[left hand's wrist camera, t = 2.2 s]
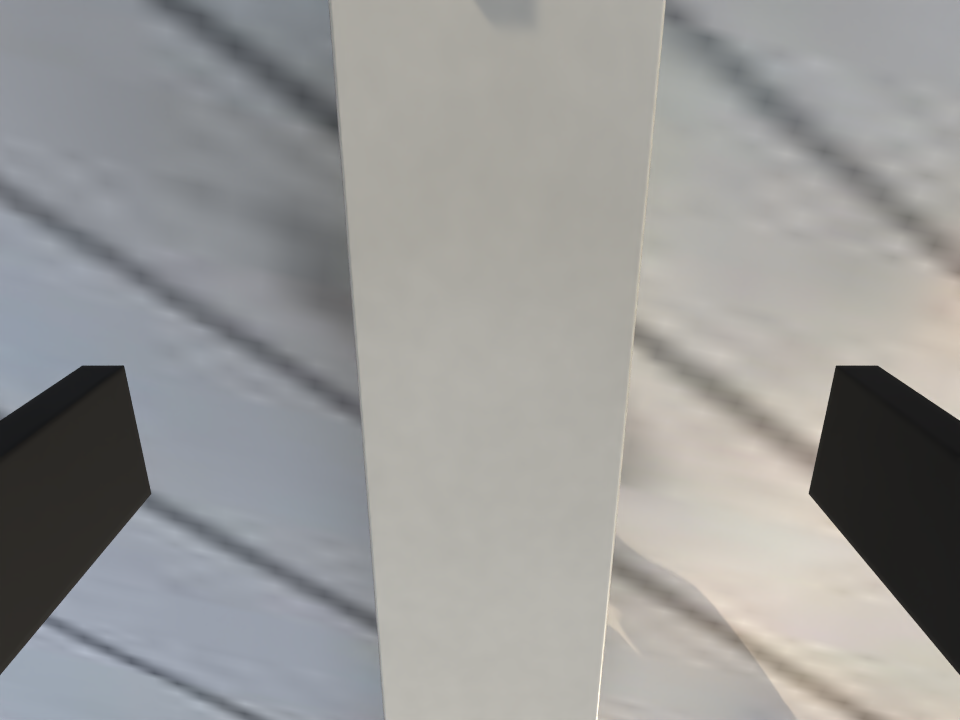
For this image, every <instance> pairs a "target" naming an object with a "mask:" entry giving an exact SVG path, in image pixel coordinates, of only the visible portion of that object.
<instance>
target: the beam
mask: <svg viewBox="0 0 960 720" xmlns="http://www.w3.org/2000/svg"><path fill="white" fill-rule="evenodd" d="M328 1H329V14H330V27H331V40H332V53H333V66H334V78H335V91H336V104H337V117H338V130H339V143H340V156H341V169H342V182H343V195H344V208H345V220H346V233H347V246H348V259H349V272H350V285H351V298H352V311H353V324H354V337H355V350H356V362H357V375H358V388H359V401H360V414H361V427H362V440H363V453H364V466H365V479H366V492H367V504H368V517H369V530H370V543H371V556H372V569H373V582H374V595H375V608H376V621H377V634H378V646H379V659H380V672H381V685H382V698H383V711H384V720H598V711H599V700H600V690H601V679H602V669H603V658H604V648H605V637H606V626H607V616H608V605H609V595H610V584H611V574H612V563H613V553H614V542H615V531H616V521H617V510H618V500H619V489H620V479H621V468H622V458H623V447H624V436H625V426H626V415H627V405H628V394H629V384H630V373H631V362H632V352H633V341H634V331H635V320H636V310H637V299H638V289H639V278H640V267H641V257H642V246H643V236H644V225H645V215H646V204H647V194H648V183H649V172H650V162H651V151H652V141H653V130H654V120H655V109H656V99H657V88H658V77H659V67H660V56H661V46H662V35H663V25H664V14H665V4H666V0H328Z"/></svg>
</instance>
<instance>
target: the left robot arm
mask: <svg viewBox="0 0 960 720" xmlns="http://www.w3.org/2000/svg"><path fill="white" fill-rule="evenodd" d="M150 495H151V490H150V485H149V481H148V476H147V471H146V467H145V462H144V457H143V453H142V448H141V443H140V439H139V434H138V429H137V425H136V420H135V415H134V410H133V406H132V401H131V396H130V392H129V387H128V382H127V378H126V373H125V368H124V366H81V367H80V368H78V369H77V370H75V371H74V372H72V373H71V374H69V375H68V376H66V377H65V378H63V379H62V380H60V381H59V382H57V383H56V384H54V385H53V386H51V387H50V388H48V389H47V390H45V391H44V392H42V393H41V394H39V395H38V396H36V397H35V398H33V399H32V400H30V401H29V402H27V403H26V404H24V405H23V406H21V407H20V408H18V409H17V410H15V411H14V412H12V413H11V414H10V415H8V416H7V417H5V418H4V419H2V420H1V421H0V675H1V673H2V672H3V671H4V670H5V669H6V667H7V666H8V665H9V664H10V663H11V661H12V660H13V659H14V658H15V657H16V655H17V654H18V653H19V652H20V651H21V649H22V648H23V647H24V646H25V645H26V643H27V642H28V641H29V640H30V639H31V637H32V636H33V635H34V634H35V633H36V631H37V630H38V629H39V628H40V627H41V625H42V624H43V623H44V622H45V621H46V619H47V618H48V617H49V616H50V615H51V613H52V612H53V611H54V610H55V609H56V607H57V606H58V605H59V604H60V603H61V601H62V600H63V599H64V598H65V597H66V595H67V594H68V593H69V592H70V591H71V589H72V588H73V587H74V586H75V585H76V583H77V582H78V581H79V580H80V579H81V577H82V576H83V575H84V574H85V573H86V571H87V570H88V569H89V568H90V567H91V565H92V564H93V563H94V562H95V561H96V559H97V558H98V557H99V556H100V555H101V553H102V552H103V551H104V550H105V549H106V547H107V546H108V545H109V544H110V543H111V541H112V540H113V539H114V538H115V537H116V535H117V534H118V533H119V532H120V531H121V529H122V528H123V527H124V526H125V525H126V523H127V522H128V521H129V520H130V519H131V517H132V516H133V515H134V514H135V513H136V511H137V510H138V509H139V508H140V507H141V505H142V504H143V503H144V502H145V501H146V499H147V498H148V497H149V496H150ZM809 495H810V496H811V497H812V498H813V499H814V501H815V502H816V503H817V504H818V505H819V507H820V508H821V509H822V510H823V511H824V513H825V514H826V515H827V516H828V517H829V519H830V520H831V521H832V522H833V523H834V525H835V526H836V527H837V528H838V529H839V531H840V532H841V533H842V534H843V535H844V537H845V538H846V539H847V540H848V541H849V543H850V544H851V545H852V546H853V547H854V549H855V550H856V551H857V552H858V553H859V555H860V556H861V557H862V558H863V559H864V561H865V562H866V563H867V564H868V565H869V567H870V568H871V569H872V570H873V571H874V573H875V574H876V575H877V576H878V577H879V579H880V580H881V581H882V582H883V583H884V585H885V586H886V587H887V588H888V589H889V591H890V592H891V593H892V594H893V595H894V597H895V598H896V599H897V600H898V601H899V603H900V604H901V605H902V606H903V607H904V609H905V610H906V611H907V612H908V613H909V615H910V616H911V617H912V618H913V619H914V621H915V622H916V623H917V624H918V625H919V627H920V628H921V629H922V630H923V631H924V633H925V634H926V635H927V636H928V637H929V639H930V640H931V641H932V642H933V643H934V645H935V646H936V647H937V648H938V649H939V651H940V652H941V653H942V654H943V655H944V657H945V658H946V659H947V660H948V661H949V663H950V664H951V665H952V666H953V667H954V669H955V670H956V671H957V672H958V673H959V675H960V421H959V420H958V419H956V418H955V417H953V416H952V415H950V414H949V413H948V412H946V411H945V410H943V409H942V408H940V407H939V406H937V405H936V404H934V403H933V402H931V401H930V400H928V399H927V398H925V397H924V396H922V395H921V394H919V393H918V392H916V391H915V390H913V389H912V388H910V387H909V386H907V385H906V384H904V383H903V382H901V381H900V380H898V379H897V378H895V377H894V376H892V375H891V374H889V373H888V372H886V371H885V370H883V369H882V368H880V367H879V366H836V368H835V373H834V378H833V382H832V387H831V392H830V396H829V401H828V406H827V410H826V415H825V420H824V425H823V429H822V434H821V439H820V443H819V448H818V453H817V457H816V462H815V467H814V471H813V476H812V481H811V485H810V490H809Z"/></svg>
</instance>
